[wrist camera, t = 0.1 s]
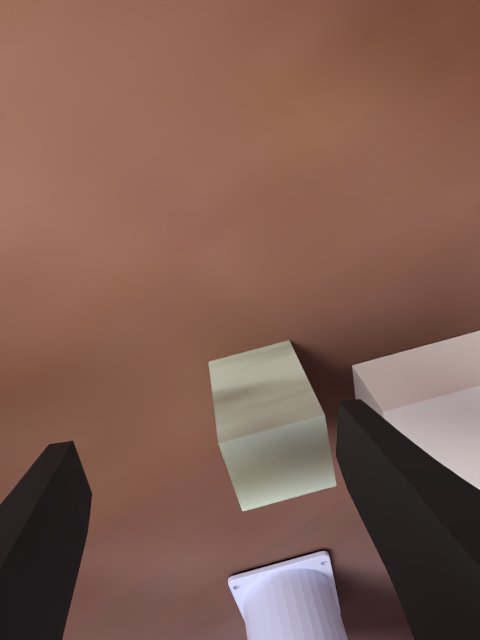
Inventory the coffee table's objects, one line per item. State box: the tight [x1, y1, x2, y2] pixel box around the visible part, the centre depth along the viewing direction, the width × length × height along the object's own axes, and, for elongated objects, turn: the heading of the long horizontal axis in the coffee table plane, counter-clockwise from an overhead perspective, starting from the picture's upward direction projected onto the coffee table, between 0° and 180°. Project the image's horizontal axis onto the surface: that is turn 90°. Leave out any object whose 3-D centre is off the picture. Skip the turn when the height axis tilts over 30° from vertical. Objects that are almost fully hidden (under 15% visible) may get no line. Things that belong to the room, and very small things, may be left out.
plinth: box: [352, 331, 480, 490], centre depth 24 cm, size 13×13×4 cm
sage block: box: [209, 340, 336, 511], centre depth 20 cm, size 4×4×6 cm
